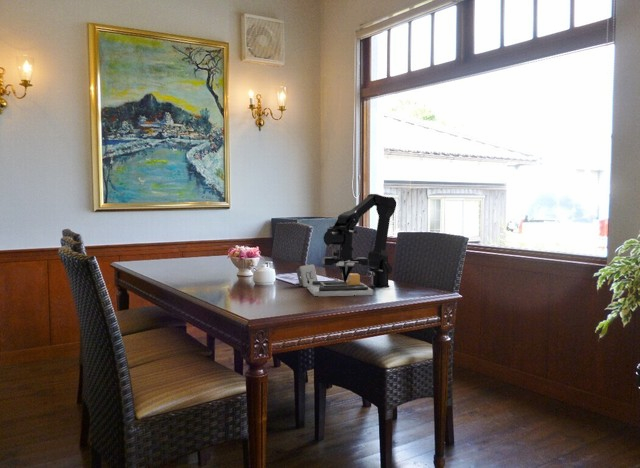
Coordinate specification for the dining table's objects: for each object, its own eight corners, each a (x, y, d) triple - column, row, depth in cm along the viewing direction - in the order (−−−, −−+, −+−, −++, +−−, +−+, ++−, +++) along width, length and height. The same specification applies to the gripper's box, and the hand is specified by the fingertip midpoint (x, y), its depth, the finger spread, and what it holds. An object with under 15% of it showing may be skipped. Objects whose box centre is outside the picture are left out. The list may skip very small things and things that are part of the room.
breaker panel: (361, 287, 245) (362, 279, 245) (373, 294, 228) (373, 286, 227) (307, 288, 241) (307, 280, 241) (314, 296, 223) (314, 287, 223)
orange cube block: (356, 285, 238) (357, 273, 238) (359, 287, 233) (360, 275, 233) (347, 285, 237) (347, 273, 237) (350, 287, 232) (350, 275, 232)
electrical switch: (305, 287, 244) (303, 266, 244) (296, 287, 247) (294, 266, 247) (318, 285, 251) (317, 264, 251) (309, 284, 254) (308, 264, 254)
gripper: (362, 243, 243) (361, 278, 244) (320, 242, 239) (319, 278, 240) (369, 245, 232) (368, 283, 233) (325, 244, 228) (324, 283, 230)
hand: (344, 281), depth 234 cm, fingers closed
